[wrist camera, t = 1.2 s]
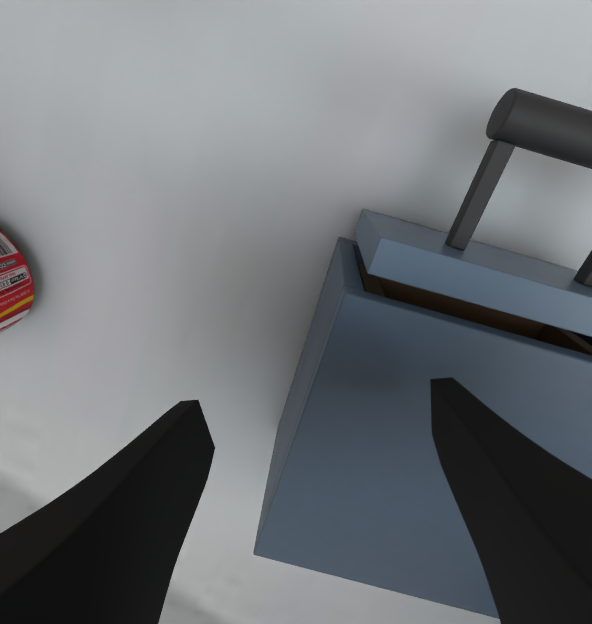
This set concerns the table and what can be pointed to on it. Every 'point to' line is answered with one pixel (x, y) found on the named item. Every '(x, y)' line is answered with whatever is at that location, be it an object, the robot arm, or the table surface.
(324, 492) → the cabinet
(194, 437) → the robot arm
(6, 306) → the soda can
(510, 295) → the drawer
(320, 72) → the table surface
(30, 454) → the table surface
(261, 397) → the table surface
